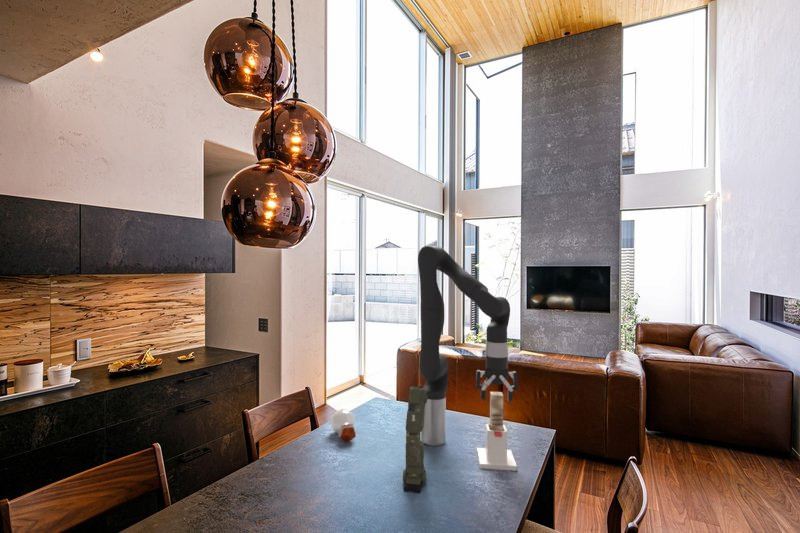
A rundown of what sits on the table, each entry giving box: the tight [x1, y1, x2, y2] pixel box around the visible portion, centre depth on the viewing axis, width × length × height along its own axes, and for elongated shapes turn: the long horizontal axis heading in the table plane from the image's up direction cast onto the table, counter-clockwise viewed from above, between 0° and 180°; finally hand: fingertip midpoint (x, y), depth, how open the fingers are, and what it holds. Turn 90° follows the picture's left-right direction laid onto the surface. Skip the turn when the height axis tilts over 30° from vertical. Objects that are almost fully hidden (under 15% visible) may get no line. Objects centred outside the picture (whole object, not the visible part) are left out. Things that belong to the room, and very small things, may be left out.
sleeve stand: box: [476, 423, 518, 472], centre depth 137 cm, size 12×12×12 cm
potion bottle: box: [330, 408, 357, 444], centre depth 156 cm, size 9×10×15 cm
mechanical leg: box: [402, 385, 427, 494], centre depth 124 cm, size 14×7×30 cm, turn 169°
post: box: [489, 391, 504, 431], centre depth 137 cm, size 4×4×22 cm
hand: (496, 401), depth 137 cm, fingers open, 8 cm apart
